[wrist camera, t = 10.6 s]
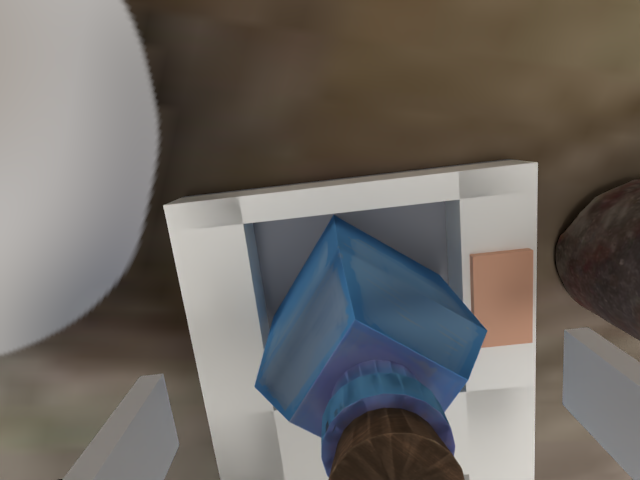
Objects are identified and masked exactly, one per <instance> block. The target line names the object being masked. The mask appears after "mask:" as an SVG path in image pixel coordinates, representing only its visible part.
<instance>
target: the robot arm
mask: <svg viewBox="0 0 640 480" xmlns="http://www.w3.org/2000/svg"><path fill="white" fill-rule="evenodd" d="M563 405H564V406H565V408H566V409H567V410H568V411H569V412H570V413H571V414H572V415H573V416H574V417H575V418H576V419H577V420H578V421H579V422H580V423H581V425H582V426H583V427H584V428H585V429H586V430H587V431H588V432H589V433H590V434H591V435H592V436H593V437H594V438H595V439H596V440H597V442H598V443H599V444H600V445H601V446H602V447H603V448H604V449H605V450H606V451H607V452H608V453H609V454H610V455H611V456H612V457H613V459H614V460H615V461H616V462H617V463H618V464H619V465H620V466H621V467H622V468H623V469H624V470H625V471H626V472H627V473H628V474H629V476H630V477H631V478H632V479H633V480H640V362H639V361H637V360H636V359H634V358H633V357H631V356H630V355H629V354H627V353H626V352H624V351H623V350H621V349H620V348H618V347H617V346H615V345H614V344H612V343H611V342H609V341H608V340H606V339H605V338H603V337H602V336H601V335H599V334H598V333H596V332H595V331H593V330H592V329H590V328H589V327H585V328H575V329H566V330H564V364H563ZM178 447H179V441H178V436H177V432H176V428H175V423H174V419H173V414H172V410H171V406H170V401H169V397H168V392H167V388H166V384H165V379H164V375H163V374H156V375H147V376H140V377H139V379H138V380H137V381H136V383H135V384H134V385H133V387H132V388H131V389H130V391H129V392H128V393H127V395H126V396H125V397H124V398H123V400H122V401H121V402H120V404H119V405H118V406H117V408H116V409H115V410H114V412H113V413H112V414H111V416H110V417H109V418H108V420H107V421H106V422H105V424H104V425H103V426H102V428H101V429H100V430H99V432H98V433H97V434H96V436H95V437H94V438H93V440H92V441H91V442H90V444H89V445H88V446H87V448H86V449H85V450H84V452H83V453H82V454H81V456H80V457H79V458H78V460H77V461H76V462H75V464H74V465H73V466H72V468H71V469H70V470H69V472H68V473H67V474H66V476H65V477H64V478H63V479H60V480H164V478H165V476H166V474H167V472H168V470H169V467H170V465H171V463H172V461H173V458H174V456H175V454H176V452H177V450H178Z"/></svg>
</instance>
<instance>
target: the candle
mask: <svg viewBox="0 0 640 480" xmlns="http://www.w3.org/2000/svg"><path fill="white" fill-rule="evenodd" d="M556 266H557V269H558V272H559V275H560V278H561V280H562V281H563V283H564V286H565V288H566V290H567V291H568V293H569V294H570V295H571V297H572V298H573V299H574V300H575V301H576V302H578V303H579V304H580V305H581V306H583V307H584V308H586V309H588V310H589V311H591V312H593V313H595V314H596V315H598V316H600V317H601V318H603V319H604V320H606V321H607V322H609V323H611V324H613V325H614V326H616V327H618V328H620V329H621V330H623V331H625V332H626V333H628V334H630V335H631V336H633V337H635V338H636V339H638V340H640V179H637V180H632V181H630V182H628V183H625V184H623V185H621V186H618V187H616V188H613V189H611V190H609V191H607V192H605V193H603V194H601V195H599V196H597V197H595V198H594V199H593V200H592V201H591V202H590V203H589V204H588V205H587V206H586V207H585V208H584V209H583V210H582V211H581V212H580V213H579V215H578V217H577V218H576V219H575V220H574V221H573V223H572V224H571V225H570V226H569V227H568V228H567V229H566V231H565V232H564V233H563V234H561V236H560V238H559V241H558V243H557V246H556Z"/></svg>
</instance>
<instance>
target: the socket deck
mask: <svg viewBox="0 0 640 480" xmlns="http://www.w3.org/2000/svg"><path fill="white" fill-rule="evenodd" d="M537 190H538V162H531V161H522V160H513V159H504V160H496V161H487V162H478V163H470V164H461V165H452V166H444V167H435V168H426V169H418V170H409V171H400V172H392V173H383V174H374V175H366V176H357V177H348V178H340V179H331V180H322V181H314V182H305V183H297V184H288V185H279V186H271V187H262V188H253V189H245V190H236V191H227V192H219V193H210V194H201V195H193V196H184V197H182V198H179V199H177V200H175V201H172V202H170V203H168V204H165V205H163V207H164V212H165V216H166V221H167V226H168V231H169V236H170V240H171V245H172V250H173V255H174V260H175V264H176V269H177V274H178V279H179V284H180V288H181V293H182V298H183V303H184V308H185V312H186V317H187V322H188V327H189V332H190V336H191V341H192V346H193V351H194V355H195V360H196V365H197V370H198V375H199V379H200V384H201V389H202V394H203V399H204V403H205V408H206V413H207V418H208V423H209V427H210V432H211V437H212V442H213V447H214V451H215V456H216V461H217V466H218V471H219V475H220V480H329V477H328V476H327V474H326V471H325V468H324V465H323V462H322V459H321V437H319V436H317V435H314V434H312V433H310V432H308V431H306V430H304V429H302V428H300V427H298V426H296V425H294V424H292V423H290V422H289V421H288V420H287V419H286V418H285V417H284V416H283V415H282V414H281V413H280V412H279V411H278V410H277V409H276V408H275V407H274V406H273V405H272V404H271V403H270V402H269V401H268V400H267V399H266V398H265V397H264V396H263V395H262V394H261V393H260V392H259V391H258V390H257V389H256V388H255V387H254V386H255V382H256V379H257V375H258V371H259V368H260V364H261V360H262V357H263V353H264V349H265V346H266V342H267V339H268V335H269V331H270V328H271V324H272V320H273V317H274V315H275V313H276V312H277V310H278V308H279V307H280V305H281V303H282V301H283V300H284V298H285V296H286V295H287V293H288V291H289V290H290V288H291V286H292V284H293V283H294V281H295V279H296V278H297V276H298V274H299V273H300V271H301V269H302V268H303V266H304V264H305V262H306V261H307V259H308V257H309V256H310V254H311V252H312V251H313V249H314V247H315V245H316V244H317V242H318V240H319V239H320V237H321V235H322V234H323V232H324V230H325V228H326V227H327V225H328V223H329V222H330V220H331V218H332V217H333V215H335V216H337V217H338V218H340V219H342V220H344V221H345V222H347V223H349V224H351V225H352V226H354V227H356V228H358V229H359V230H361V231H363V232H365V233H366V234H368V235H370V236H372V237H374V238H375V239H377V240H379V241H381V242H382V243H384V244H386V245H388V246H389V247H391V248H393V249H395V250H396V251H398V252H400V253H402V254H403V255H405V256H407V257H409V258H411V259H412V260H414V261H416V262H418V263H419V264H421V265H423V266H425V267H426V268H428V269H430V270H432V271H433V272H435V273H437V274H439V275H440V276H441V277H442V278H443V280H444V281H445V282H446V283H447V284H448V285H449V287H450V288H451V289H452V290H453V291H454V292H455V293H456V295H457V296H458V297H459V298H460V299H461V300H462V302H463V303H464V304H465V305H466V306H467V307H468V309H469V310H470V311H471V312H472V313H473V314H474V316H475V317H476V318H477V319H478V320H479V321H480V323H481V324H482V325H483V326H484V327H485V328H486V330H487V333H486V336H485V338H484V341H483V344H482V346H481V349H480V351H479V354H478V357H477V359H476V362H475V364H474V367H473V369H472V372H471V375H470V377H469V380H468V381H467V383H466V384H465V385H464V387H463V388H462V389H461V391H460V392H459V394H458V395H457V396H456V398H455V399H454V400H453V402H452V403H451V404H450V406H449V407H448V408H447V410H446V411H445V412H444V413H445V416H446V418H447V420H448V422H449V425H450V427H451V429H452V434H453V438H454V442H455V452H454V457H455V459H456V460H457V462H458V463H459V465H460V466H461V468H462V471H463V475H464V479H465V480H534V464H535V373H536V282H537Z"/></svg>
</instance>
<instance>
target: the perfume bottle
mask: <svg viewBox="0 0 640 480" xmlns="http://www.w3.org/2000/svg"><path fill="white" fill-rule="evenodd" d="M486 333H487V330H486V328H485V327H484V326H483V325H482V324H481V323H480V321H479V320H478V319H477V318H476V317H475V316H474V314H473V313H472V312H471V311H470V310H469V309H468V307H467V306H466V305H465V304H464V303H463V302H462V300H461V299H460V298H459V297H458V296H457V295H456V293H455V292H454V291H453V290H452V289H451V288H450V287H449V285H448V284H447V283H446V282H445V281H444V280H443V278H442V277H441V276H440V275H439V274H437V273H435V272H433V271H432V270H430V269H428V268H426V267H425V266H423V265H421V264H419V263H418V262H416V261H414V260H412V259H411V258H409V257H407V256H405V255H403V254H402V253H400V252H398V251H396V250H395V249H393V248H391V247H389V246H388V245H386V244H384V243H382V242H381V241H379V240H377V239H375V238H374V237H372V236H370V235H368V234H366V233H365V232H363V231H361V230H359V229H358V228H356V227H354V226H352V225H351V224H349V223H347V222H345V221H344V220H342V219H340V218H338V217H337V216H335V215H333V217H332V218H331V220H330V222H329V223H328V225H327V227H326V228H325V230H324V232H323V234H322V235H321V237H320V239H319V240H318V242H317V244H316V245H315V247H314V249H313V251H312V252H311V254H310V256H309V257H308V259H307V261H306V262H305V264H304V266H303V268H302V269H301V271H300V273H299V274H298V276H297V278H296V279H295V281H294V283H293V284H292V286H291V288H290V290H289V291H288V293H287V295H286V296H285V298H284V300H283V301H282V303H281V305H280V307H279V308H278V310H277V312H276V313H275V315H274V317H273V320H272V324H271V328H270V331H269V335H268V339H267V342H266V346H265V349H264V353H263V357H262V360H261V364H260V368H259V371H258V375H257V379H256V382H255V386H254V387H255V388H256V389H257V390H258V391H259V392H260V393H261V394H262V395H263V396H264V397H265V398H266V399H267V400H268V401H269V402H270V403H271V404H272V405H273V406H274V407H275V408H276V409H277V410H278V411H279V412H280V413H281V414H282V415H283V416H284V417H285V418H286V419H287V420H288V421H289V422H290V423H292V424H294V425H296V426H298V427H300V428H302V429H304V430H306V431H308V432H310V433H312V434H314V435H317V436H319V437H321V459H322V462H323V465H324V468H325V471H326V474H327V476H328V477H329V480H465V479H464V475H463V471H462V468H461V466H460V465H459V463H458V462H457V460H456V459H455V457H454V452H455V442H454V438H453V434H452V429H451V427H450V425H449V422H448V420H447V418H446V416H445V413H444V412H445V411H446V410H447V408H448V407H449V406H450V404H451V403H452V402H453V400H454V399H455V398H456V396H457V395H458V394H459V392H460V391H461V389H462V388H463V387H464V385H465V384H466V383H467V381H468V380H469V377H470V375H471V372H472V369H473V367H474V364H475V362H476V359H477V357H478V354H479V351H480V349H481V346H482V344H483V341H484V338H485V336H486Z"/></svg>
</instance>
